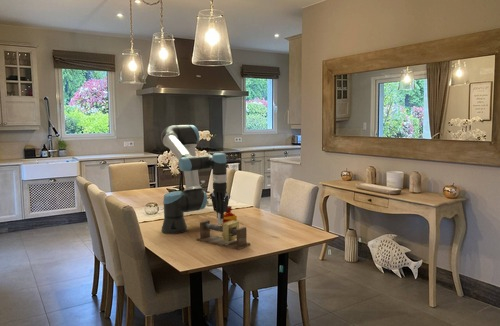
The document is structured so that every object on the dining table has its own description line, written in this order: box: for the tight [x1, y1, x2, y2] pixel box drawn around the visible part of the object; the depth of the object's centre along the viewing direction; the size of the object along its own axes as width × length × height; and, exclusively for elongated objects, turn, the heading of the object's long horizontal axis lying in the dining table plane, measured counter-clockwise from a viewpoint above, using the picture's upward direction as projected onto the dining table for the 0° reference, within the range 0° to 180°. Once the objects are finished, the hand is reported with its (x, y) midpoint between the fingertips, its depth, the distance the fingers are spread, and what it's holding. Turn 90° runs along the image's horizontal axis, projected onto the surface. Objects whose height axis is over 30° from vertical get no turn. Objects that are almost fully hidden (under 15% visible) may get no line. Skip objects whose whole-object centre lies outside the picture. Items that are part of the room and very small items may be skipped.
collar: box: [222, 220, 240, 242], centre depth 217 cm, size 4×9×9 cm, turn 144°
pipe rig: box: [196, 219, 251, 251], centre depth 220 cm, size 30×10×10 cm, turn 54°
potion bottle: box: [221, 205, 238, 226], centre depth 242 cm, size 10×10×15 cm
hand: (220, 224), depth 221 cm, fingers closed
